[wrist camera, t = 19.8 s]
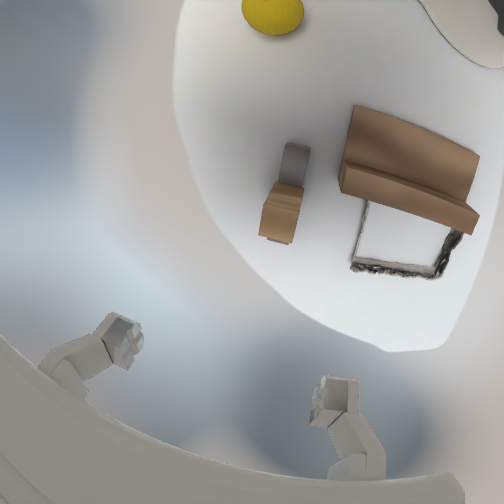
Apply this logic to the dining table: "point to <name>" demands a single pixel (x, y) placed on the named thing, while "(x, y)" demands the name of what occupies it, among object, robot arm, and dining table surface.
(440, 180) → the stop bar
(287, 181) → the oak pusher
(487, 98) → the dining table surface
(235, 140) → the dining table surface
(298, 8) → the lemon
